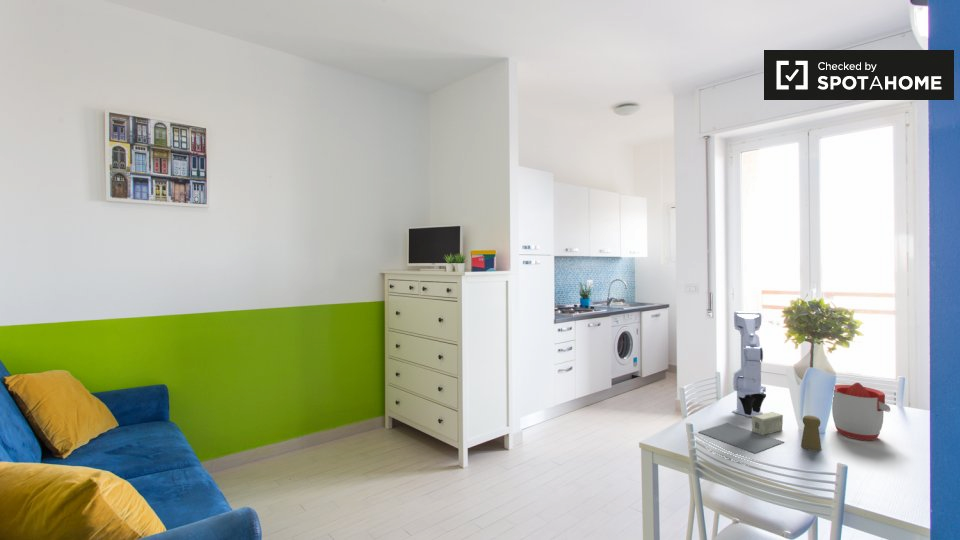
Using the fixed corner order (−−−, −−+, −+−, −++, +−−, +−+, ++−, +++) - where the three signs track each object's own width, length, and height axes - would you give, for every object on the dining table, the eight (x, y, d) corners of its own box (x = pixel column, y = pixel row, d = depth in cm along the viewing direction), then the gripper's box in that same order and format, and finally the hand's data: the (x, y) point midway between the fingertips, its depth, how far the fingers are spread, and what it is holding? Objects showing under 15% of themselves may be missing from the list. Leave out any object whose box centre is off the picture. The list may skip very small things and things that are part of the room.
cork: (815, 452, 164) (816, 420, 163) (797, 445, 169) (797, 415, 168) (825, 448, 166) (825, 417, 166) (806, 442, 172) (807, 412, 171)
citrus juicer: (880, 448, 165) (881, 392, 164) (823, 432, 180) (824, 381, 179) (897, 438, 174) (898, 385, 173) (841, 424, 188) (842, 374, 187)
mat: (727, 423, 191) (727, 422, 191) (784, 442, 172) (784, 441, 172) (698, 432, 182) (698, 431, 182) (755, 453, 163) (755, 452, 163)
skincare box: (751, 431, 182) (771, 427, 187) (762, 435, 178) (782, 430, 183) (752, 415, 181) (771, 411, 187) (763, 418, 177) (783, 414, 183)
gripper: (751, 383, 173) (751, 419, 173) (773, 377, 180) (773, 412, 180) (733, 378, 179) (732, 414, 179) (755, 373, 186) (755, 407, 186)
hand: (751, 412), depth 180 cm, fingers open, 5 cm apart
